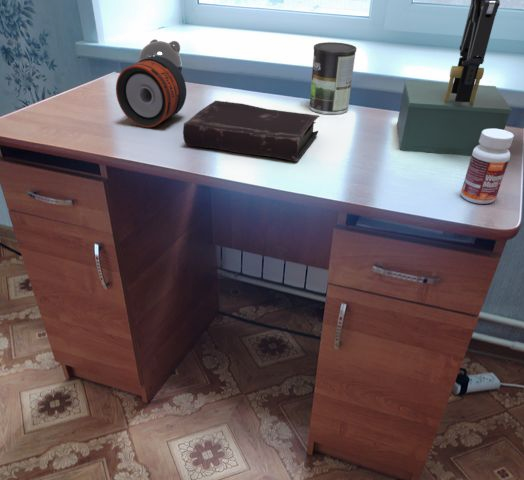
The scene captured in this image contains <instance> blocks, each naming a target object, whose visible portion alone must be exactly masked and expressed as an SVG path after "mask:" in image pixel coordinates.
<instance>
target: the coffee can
mask: <svg viewBox="0 0 524 480" xmlns="http://www.w3.org/2000/svg"><path fill="white" fill-rule="evenodd" d="M357 49H358V48H357V47H356V46H355V45H353V44H350V43H346V42H334V41H330V42H329V41H328V42H319V43H316V44H314V45H313V59H312V71H311V84H310V97H309V106H308V107H309V110H310V111H311V112H314V113H317V114H321V115H331V116H333V115H335V116H336V115H342V114H345V113H347V112H348V111H349V106H350V105H349V104H350V96H351V89H352V82H353V74H354V66H355V59H356V52H357Z"/></svg>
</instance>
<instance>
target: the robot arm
mask: <svg viewBox="0 0 524 480" xmlns="http://www.w3.org/2000/svg"><path fill="white" fill-rule="evenodd" d="M500 2H501V0H470V5H469V9H468V14H467V17H466V22H465V26H464V30H463V34H462V38H461V41H460V45H459V51H460V52H459V58H458V63H457V66H462V67H463V70H462V74H461V78H454V81H453V87H452V91H451V93H453V94H456V98H455V102H470V98H471V94H472V91H473V87H474V85H475V81H476V76H477V72H478V68H480V66H481V65H483V64H484V63H485V56H486V54H487V53H486V52H487V49H488V45H489V42H490V37H491V33H492V30H493V26H494V22H495V19H496V15H497V13H498V10H499V7H500V5H501V3H500Z"/></svg>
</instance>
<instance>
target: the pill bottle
mask: <svg viewBox="0 0 524 480" xmlns="http://www.w3.org/2000/svg"><path fill="white" fill-rule="evenodd" d="M514 137H515V135H514V133H512V132H510V131H508V130H506V129H504V130H501V129H485V130H483V131H482V133H481V136H480V139H479V143H480V145H478V146H476V147H475V148H474V150H473V153H472V156H470V159H469V164H468V167H467V170H466V174H465V177H464V179H463V180H464V182H463V184H462V187H461V191H460V195H461V197H462V198H463V199H465V200H466V201H468V202H469V203H473V204H479V205H486V204H487V205H488V204H491V203H493V202H494V201H496V199H497V197H498V193H499V191H500V188H501V185H502V183H503V179H504V177H505V173H506V170H507V167H508V165H509V163H510V159H511V152H510V150H509V148H511V146H512V143H513V139H514Z"/></svg>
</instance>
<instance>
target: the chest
mask: <svg viewBox="0 0 524 480" xmlns="http://www.w3.org/2000/svg"><path fill="white" fill-rule="evenodd" d="M509 117H510V114H507V113H492V112H478V111H463V110H449V109H434V108H420V107H409V103H408V98H407V93H406V88H405V84H404V85H403V89H402V96H401V101H400V107H399V111H398V117H397V122H396V130H397V137H398V144H399V145H398V146H399V150H400V151H406V152H407V151H408V152H420V153H433V154H444V155H458V156H459V155H460V156H470V157H471V156H472V153H473V150H474V148H475V147H476V146H478V145H480V143H479V139H480V136H481V133H482V131H483V130H485V129H501V130H506V126H507V123H508V120H509Z"/></svg>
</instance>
